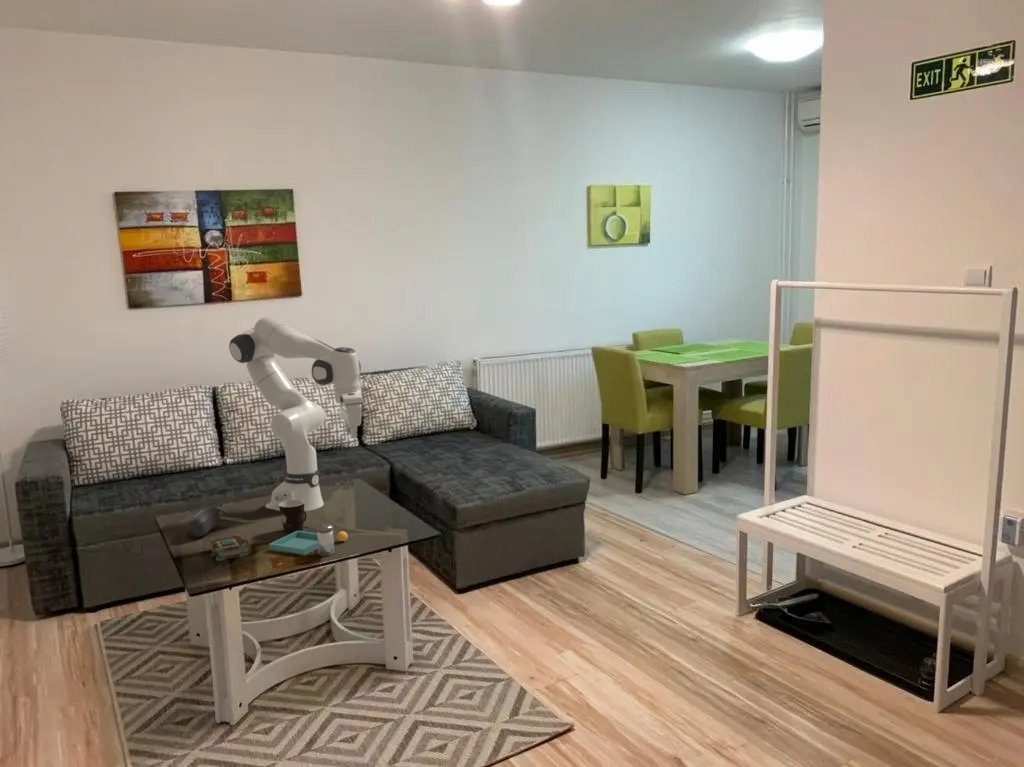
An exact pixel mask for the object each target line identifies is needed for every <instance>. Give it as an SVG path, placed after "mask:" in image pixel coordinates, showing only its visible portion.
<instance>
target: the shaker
mask: <svg viewBox="0 0 1024 767" xmlns="http://www.w3.org/2000/svg"><path fill="white" fill-rule="evenodd" d="M315 531H316V533H317V540H318V550H317V552H318V556H319V555H322V556H321V557H327V556H326V555H330V554H332V553H334V552H335V538H334V524H332V523H320V524H318V525H316V526H315ZM334 554H335V553H334ZM330 556H331V555H330Z"/></svg>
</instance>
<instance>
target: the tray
mask: <svg viewBox="0 0 1024 767" xmlns="http://www.w3.org/2000/svg"><path fill="white" fill-rule="evenodd" d="M316 549H318V540H317V532H311V531H304V530H303V531H296V532H293V533H288V534H287V535H285V536H283V537H281V538H279V539H276V540H274V541H272V542H270V543H268V550H269V552H274V551H275V552H276V553H281V552H284V553H283V554H287V553H292V554H291V555H294V554H298V555H297V556H301V555H303V556H302V557H304V555H305V556H307V555H309V554H311V553H310V552H312V553H314V552H315V551H314V550H316ZM313 551H314V552H313ZM316 551H317V550H316ZM308 553H309V554H308ZM306 554H307V555H306Z"/></svg>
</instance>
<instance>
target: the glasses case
mask: <svg viewBox="0 0 1024 767" xmlns="http://www.w3.org/2000/svg"><path fill="white" fill-rule="evenodd" d="M220 512H222V513H223V514H224V515H225V516H228V515H229V513H227V512H225V511H224V510H223V509H220V508H218V507H216V506H214V505H209V506H207V507H204V508H203V509H201V510H200V511H198V512H197V513H195V514H194V515H193V516H191V517H190V519H189V520H188V522H187V525H186V529H187V533H191V534H192V535H193V537H195V536H196V537H195V538H200V537H202V536H204V535H206V534H207V533H208V532H209V531H211V530H212V529H213V528H214V527H216V525H217V524H218V523H220V520H221V519H220V518H221V517H220Z"/></svg>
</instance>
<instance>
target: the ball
mask: <svg viewBox="0 0 1024 767" xmlns="http://www.w3.org/2000/svg"><path fill="white" fill-rule="evenodd" d="M348 536H349V535H348V533H347V532H346V531H343V530H342V531H339V532H337V534H336V539H337V541H339V542H340V541H344V542H346V541H347V540H348ZM345 540H346V541H345Z"/></svg>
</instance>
